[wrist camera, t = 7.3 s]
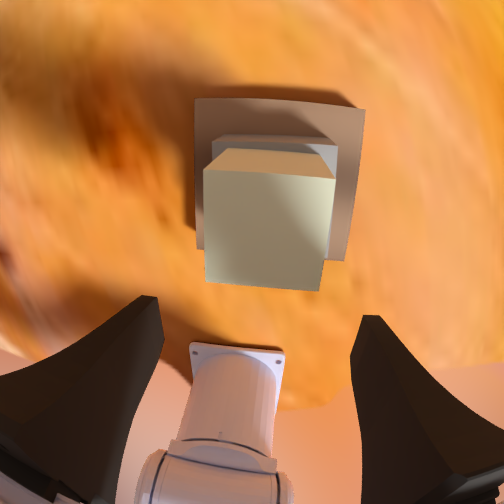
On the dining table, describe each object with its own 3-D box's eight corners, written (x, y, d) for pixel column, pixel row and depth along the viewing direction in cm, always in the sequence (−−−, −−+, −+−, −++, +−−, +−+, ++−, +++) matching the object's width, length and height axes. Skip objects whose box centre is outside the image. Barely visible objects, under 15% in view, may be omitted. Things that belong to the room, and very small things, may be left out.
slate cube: (321, 233, 18) (327, 258, 15) (226, 228, 18) (216, 252, 16) (328, 137, 15) (338, 145, 13) (224, 134, 16) (211, 141, 13)
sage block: (310, 237, 15) (318, 291, 11) (226, 231, 15) (205, 281, 11) (319, 154, 13) (335, 179, 9) (228, 147, 13) (203, 169, 9)
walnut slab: (338, 243, 21) (343, 261, 19) (206, 232, 21) (196, 249, 19) (355, 108, 17) (365, 109, 14) (205, 98, 17) (194, 98, 15)
